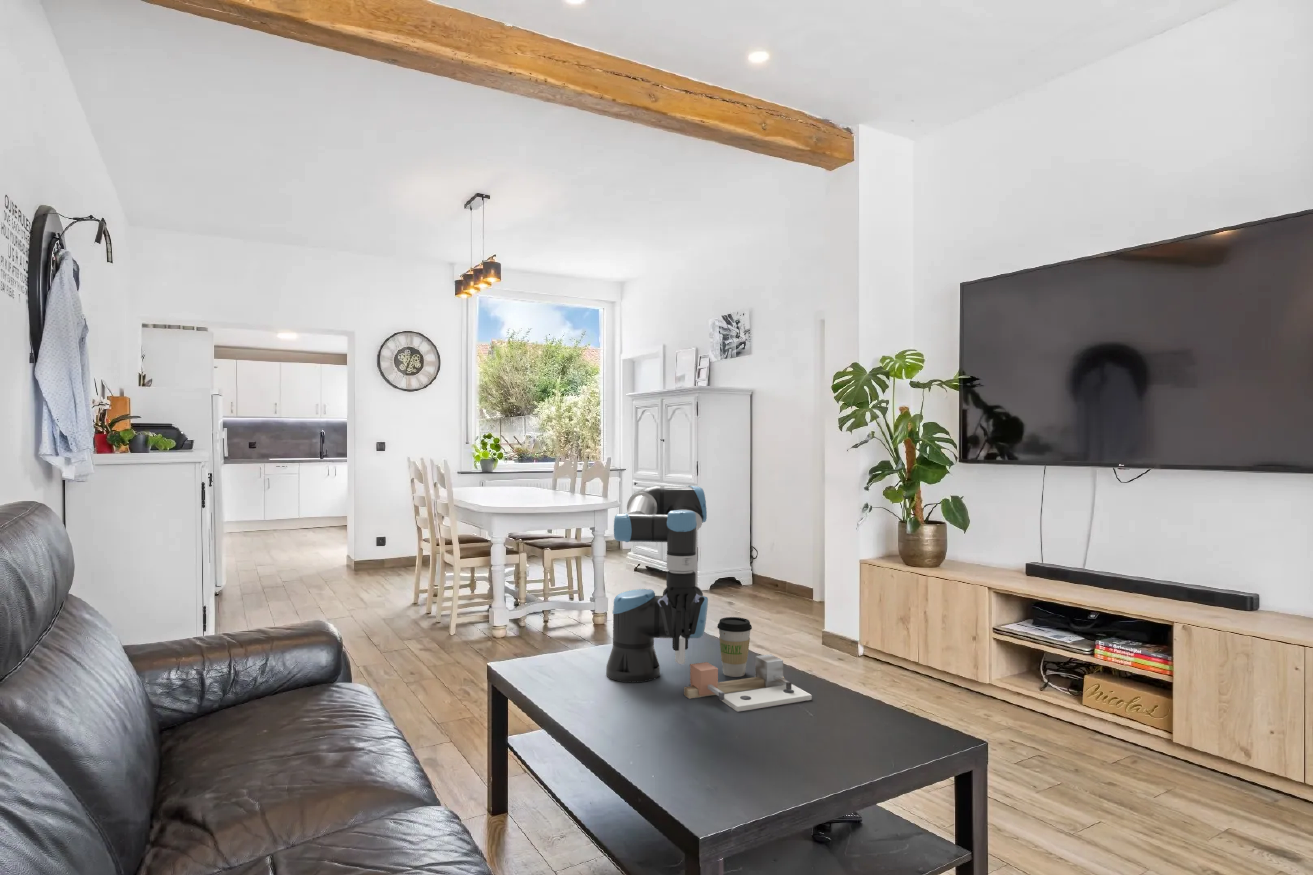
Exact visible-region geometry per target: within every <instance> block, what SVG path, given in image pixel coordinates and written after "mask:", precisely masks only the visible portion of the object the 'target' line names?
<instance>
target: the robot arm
mask: <svg viewBox="0 0 1313 875" xmlns="http://www.w3.org/2000/svg"><path fill="white" fill-rule="evenodd" d="M626 511H627V512H625V513H617V514H616V515H615V516H614V520H613V537H614V540H615V541H617V542H625V543H629V542H630V543H635V542H636V543H640V542H641V543H666V569H667V572H666V581H665V582H666V583H665V584H666V587H665V588H664V589H663V591H662V595H656V593H655V590H653V589H650V588H649V589H647V588H642V589H641V588H639V589H632V590H626V591H623V592H620V593H619V594H617V595H616V596H615V598H614V599H613V610H612V614H613V616H612V617H613V619H612V620H613V622H612V623H613V624H612V649H611V651H610V654H609V657H608V659H607V662H606V669H605V670H606V676H607V677H608V678H609V679H611V680H613V681H618V682H624V683H642V682H643V683H644V682H648V681H649V682H650V681H653V680H655V679H657V678H659V676H660V674H661V672H660V671H661V666H660V665H661V664H660V662H659V659H658V656H657V652H656V649H655V639H672V644H671V646H672V649H673V651H675V653H674V655H675V656H674V657H675V658H674V662H675V663H677V664H679V665H685V664H686V650H688V648H689V640H690V639H700V638H702V637H703V636H704V634H705V630H706V624H707V617H708V616H707V615H708V608H709V606H708V605H709V598H708V597H707V596H705V595H704V594H703V591H702V589H701V588H700V587H699V585H698V583H699V582H698V572H699V571H698V564H699V563H698V560H699V559H698V556H699V555H698V531H699V530H700V528H701V527H702V525H703V523H705V522H707V518H708V517H707V512H708V511H707V501H706V494H705V492H704V489H703V488H702V487H701V486H697V485H696V486H693V485H688V486H687V485H686V486H684V485H653V486H648V487H645V488H642V489H639V490H638V491H636V492H634V493H633V494H632V495H631V496H630V497H629V498H628V501H627V503H626Z"/></svg>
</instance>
